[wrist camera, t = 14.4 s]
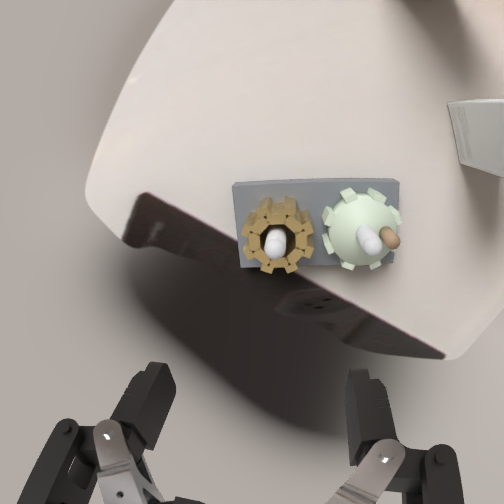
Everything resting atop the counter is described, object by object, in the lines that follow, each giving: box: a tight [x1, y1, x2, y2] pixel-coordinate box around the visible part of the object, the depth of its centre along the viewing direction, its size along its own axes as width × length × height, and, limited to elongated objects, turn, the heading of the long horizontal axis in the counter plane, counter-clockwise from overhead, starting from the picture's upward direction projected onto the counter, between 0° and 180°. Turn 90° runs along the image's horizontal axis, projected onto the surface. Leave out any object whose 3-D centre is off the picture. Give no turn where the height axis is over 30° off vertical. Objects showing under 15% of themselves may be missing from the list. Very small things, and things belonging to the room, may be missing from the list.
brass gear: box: [241, 195, 314, 274], centre depth 28 cm, size 6×6×4 cm
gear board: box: [232, 178, 402, 271], centre depth 27 cm, size 17×9×8 cm, turn 95°
